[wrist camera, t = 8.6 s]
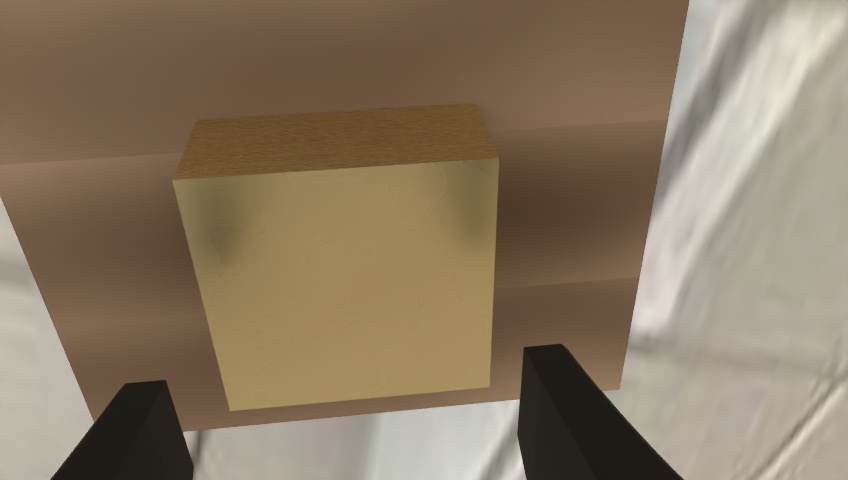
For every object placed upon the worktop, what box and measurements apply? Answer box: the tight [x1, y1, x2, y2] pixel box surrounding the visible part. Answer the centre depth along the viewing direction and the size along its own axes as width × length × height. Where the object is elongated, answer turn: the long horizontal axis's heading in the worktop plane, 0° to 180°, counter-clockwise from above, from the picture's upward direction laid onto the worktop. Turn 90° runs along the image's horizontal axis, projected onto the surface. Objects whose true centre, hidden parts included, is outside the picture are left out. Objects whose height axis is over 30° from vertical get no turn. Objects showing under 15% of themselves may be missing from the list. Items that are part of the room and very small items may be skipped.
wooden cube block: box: [172, 103, 499, 411], centre depth 16 cm, size 6×6×6 cm
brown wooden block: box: [0, 0, 689, 432], centre depth 17 cm, size 12×14×4 cm
